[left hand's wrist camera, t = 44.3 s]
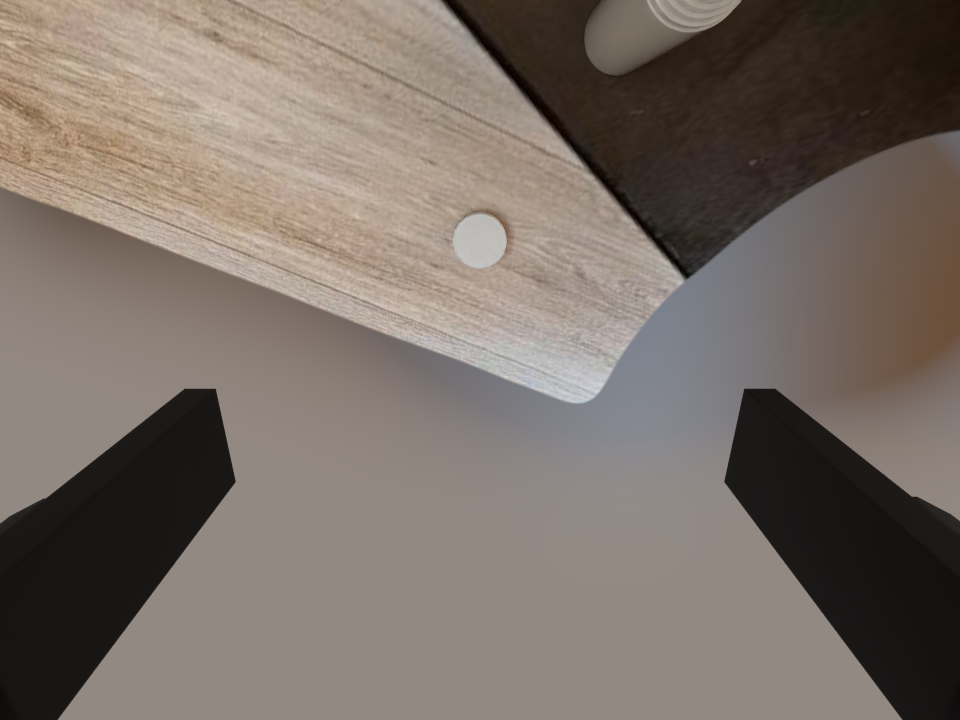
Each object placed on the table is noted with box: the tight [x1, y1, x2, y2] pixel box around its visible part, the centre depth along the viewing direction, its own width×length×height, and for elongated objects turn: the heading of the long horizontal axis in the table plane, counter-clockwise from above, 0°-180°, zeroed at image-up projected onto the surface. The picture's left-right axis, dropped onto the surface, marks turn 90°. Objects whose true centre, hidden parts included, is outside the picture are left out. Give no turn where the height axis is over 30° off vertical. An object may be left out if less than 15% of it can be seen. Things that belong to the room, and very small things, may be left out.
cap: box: [453, 211, 507, 268], centre depth 43 cm, size 5×5×2 cm
